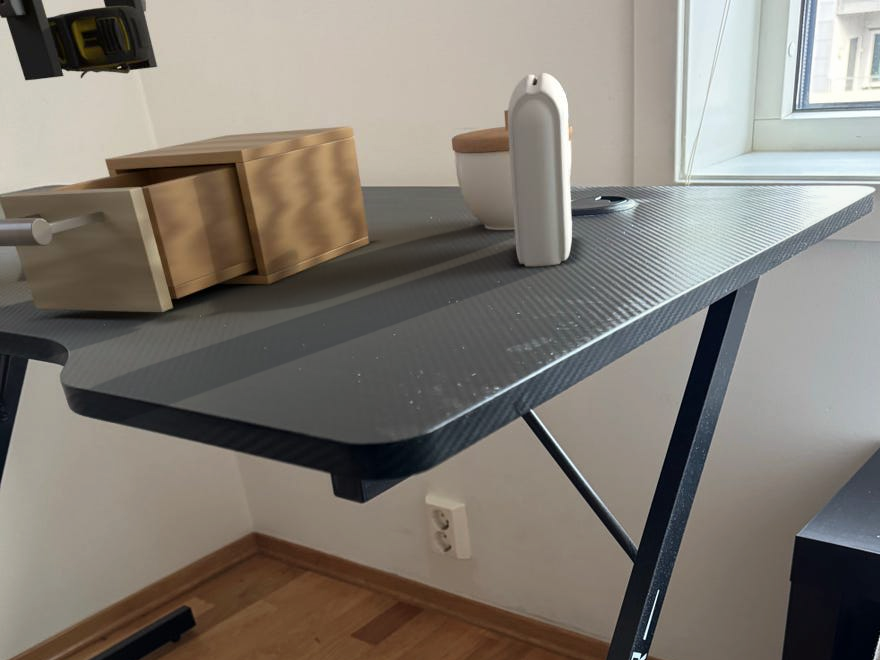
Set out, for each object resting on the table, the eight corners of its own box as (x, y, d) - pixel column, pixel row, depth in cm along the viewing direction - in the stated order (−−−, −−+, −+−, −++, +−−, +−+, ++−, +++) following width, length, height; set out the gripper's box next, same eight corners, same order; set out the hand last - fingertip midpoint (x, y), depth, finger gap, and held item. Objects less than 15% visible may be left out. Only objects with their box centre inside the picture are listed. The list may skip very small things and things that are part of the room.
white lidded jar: (473, 218, 92) (464, 110, 87) (581, 211, 89) (578, 100, 84) (448, 240, 83) (436, 121, 78) (567, 232, 81) (562, 109, 76)
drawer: (96, 338, 60) (55, 207, 56) (-34, 333, 65) (-81, 212, 61) (282, 265, 75) (262, 158, 71) (166, 265, 80) (140, 165, 76)
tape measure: (59, 81, 66) (40, 18, 64) (157, 70, 67) (141, 8, 65) (49, 82, 61) (29, 13, 59) (156, 69, 62) (139, 2, 60)
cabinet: (269, 286, 73) (241, 150, 68) (139, 285, 79) (104, 159, 73) (369, 245, 85) (352, 126, 79) (250, 246, 90) (227, 135, 85)
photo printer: (522, 244, 78) (512, 73, 71) (573, 240, 77) (568, 67, 71) (513, 271, 69) (500, 79, 63) (570, 267, 69) (563, 73, 62)
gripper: (-174, -502, 42) (10, 80, 54) (145, -371, 57) (232, 59, 70) (-269, -450, 45) (-74, 90, 57) (59, -339, 60) (157, 68, 73)
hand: (94, 73), depth 63 cm, fingers closed on tape measure, 8 cm apart
